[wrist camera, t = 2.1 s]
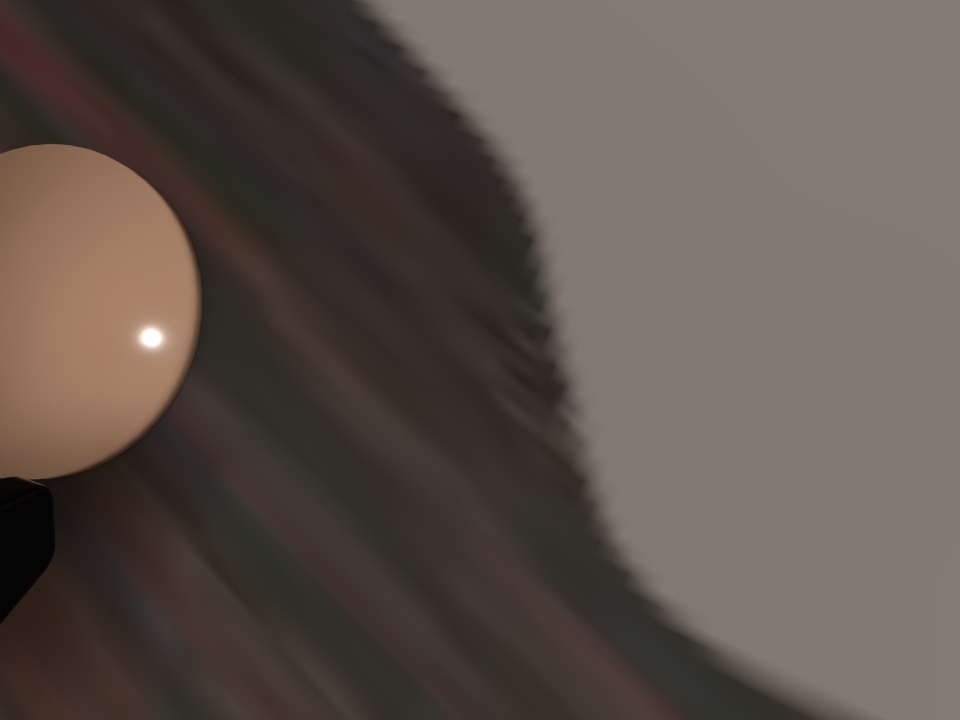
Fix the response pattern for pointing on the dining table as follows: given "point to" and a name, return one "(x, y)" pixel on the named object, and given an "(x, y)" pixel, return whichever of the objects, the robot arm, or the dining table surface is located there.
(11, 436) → the saucer
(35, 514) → the robot arm
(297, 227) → the dining table surface
